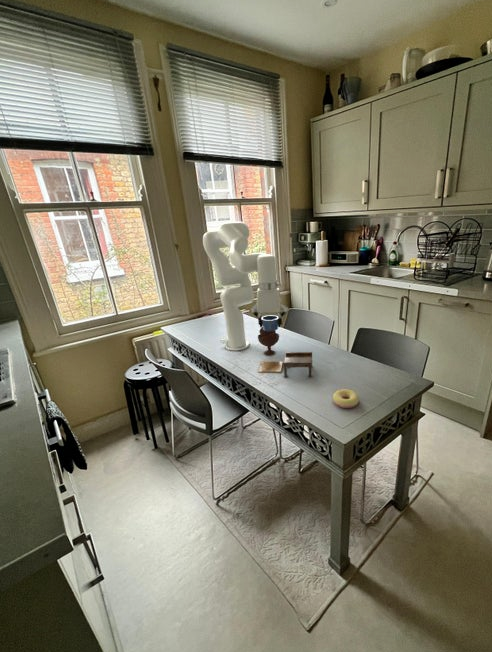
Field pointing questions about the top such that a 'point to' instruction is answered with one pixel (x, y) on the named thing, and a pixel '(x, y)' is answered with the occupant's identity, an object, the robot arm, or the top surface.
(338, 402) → the donut
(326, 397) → the top surface
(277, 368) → the mat
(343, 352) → the top surface
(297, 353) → the stand
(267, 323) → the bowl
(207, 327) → the top surface
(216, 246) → the robot arm
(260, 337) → the ice cream bowl
